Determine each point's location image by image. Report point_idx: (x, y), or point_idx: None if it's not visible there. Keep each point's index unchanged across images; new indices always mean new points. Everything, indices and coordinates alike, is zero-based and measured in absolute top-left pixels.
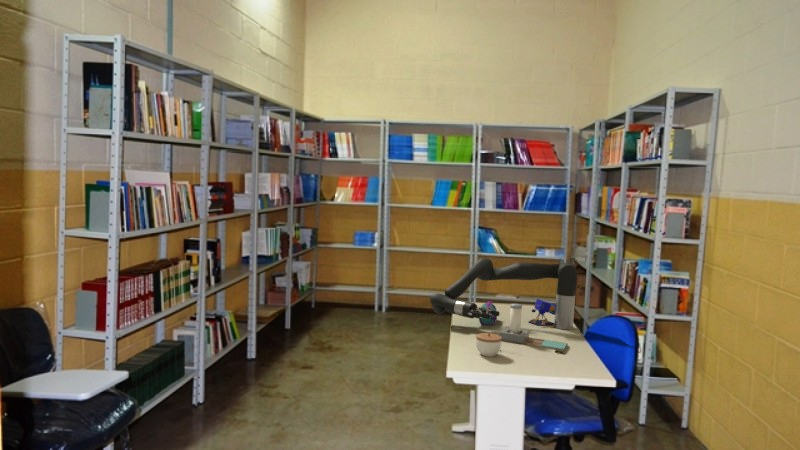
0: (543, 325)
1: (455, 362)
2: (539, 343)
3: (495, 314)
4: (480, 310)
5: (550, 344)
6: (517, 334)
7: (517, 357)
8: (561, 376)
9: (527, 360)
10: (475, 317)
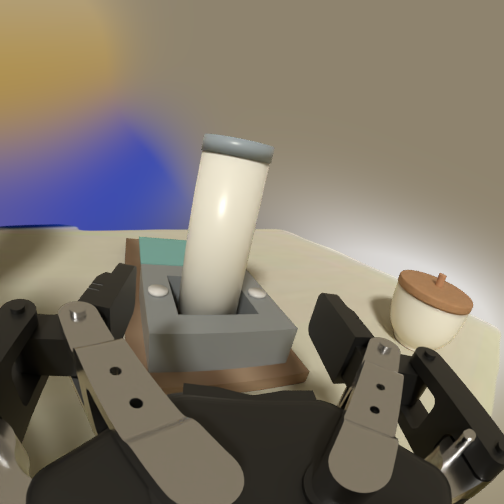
0: None
1: (497, 346)
2: None
3: (124, 318)
4: (370, 366)
5: (183, 254)
6: (248, 282)
7: (347, 298)
8: (338, 254)
9: (337, 285)
10: (421, 417)
